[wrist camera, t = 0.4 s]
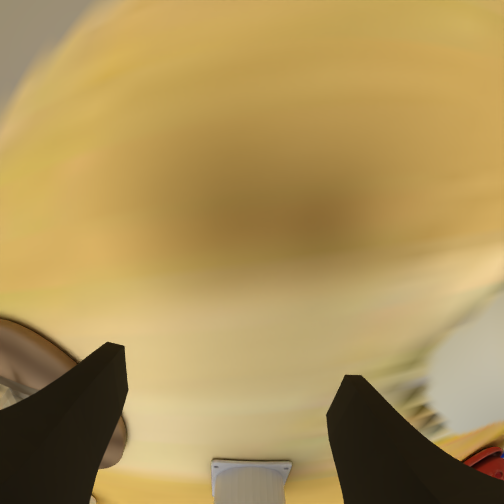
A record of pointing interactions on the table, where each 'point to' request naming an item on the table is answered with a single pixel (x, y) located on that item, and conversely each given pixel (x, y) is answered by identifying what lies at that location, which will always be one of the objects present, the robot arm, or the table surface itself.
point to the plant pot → (488, 462)
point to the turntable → (42, 374)
